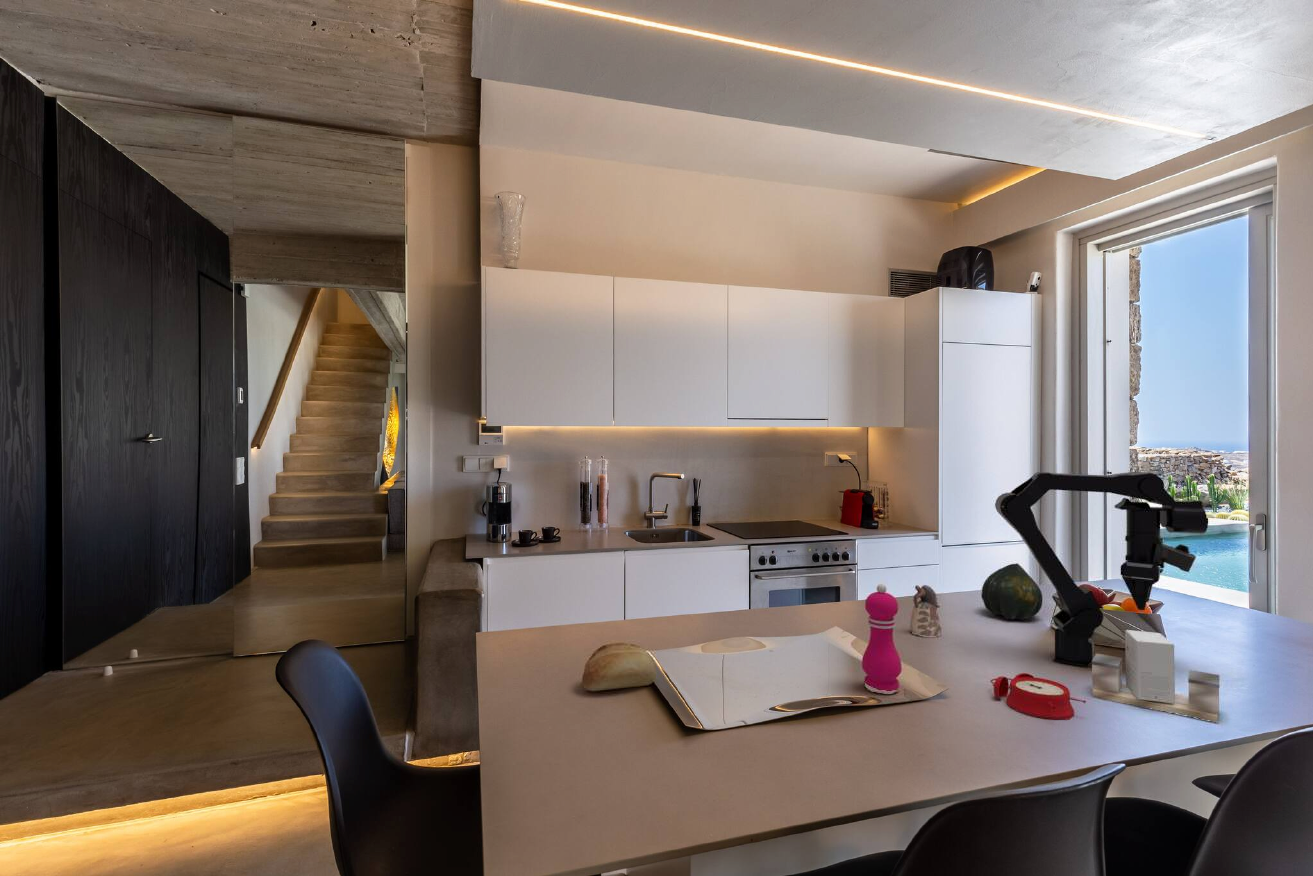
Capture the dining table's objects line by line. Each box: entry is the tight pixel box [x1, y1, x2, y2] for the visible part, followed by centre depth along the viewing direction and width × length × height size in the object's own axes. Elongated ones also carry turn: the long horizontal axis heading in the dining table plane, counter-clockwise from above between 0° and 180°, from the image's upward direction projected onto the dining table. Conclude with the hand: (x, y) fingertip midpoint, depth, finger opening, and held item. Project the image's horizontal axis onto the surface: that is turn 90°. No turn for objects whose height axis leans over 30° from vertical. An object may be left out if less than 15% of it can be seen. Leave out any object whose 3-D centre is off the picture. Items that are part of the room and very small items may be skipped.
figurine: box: [909, 584, 942, 636], centre depth 161 cm, size 7×7×12 cm
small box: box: [1124, 629, 1176, 703], centre depth 119 cm, size 8×6×10 cm
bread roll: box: [581, 642, 657, 692], centre depth 126 cm, size 10×15×8 cm, turn 116°
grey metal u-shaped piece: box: [1091, 653, 1220, 724], centre depth 118 cm, size 18×8×6 cm, turn 49°
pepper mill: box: [861, 583, 903, 691], centre depth 125 cm, size 7×7×20 cm
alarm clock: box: [990, 672, 1087, 721], centre depth 118 cm, size 10×6×15 cm
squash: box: [981, 563, 1043, 621], centre depth 178 cm, size 14×15×15 cm
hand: (1143, 605), depth 137 cm, fingers open, 9 cm apart
